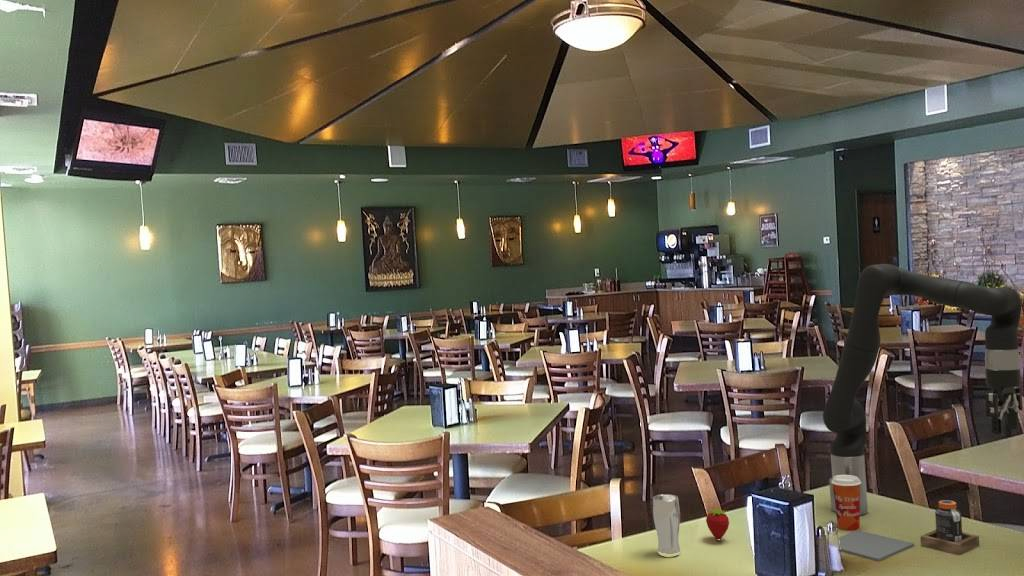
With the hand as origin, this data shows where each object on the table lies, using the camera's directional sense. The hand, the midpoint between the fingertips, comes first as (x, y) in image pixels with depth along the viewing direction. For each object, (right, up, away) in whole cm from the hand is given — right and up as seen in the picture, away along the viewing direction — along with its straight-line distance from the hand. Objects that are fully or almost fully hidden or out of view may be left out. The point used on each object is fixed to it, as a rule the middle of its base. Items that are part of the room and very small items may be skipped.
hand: (1005, 431), depth 204 cm
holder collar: (-12, -30, +4) cm, 32 cm away
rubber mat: (-31, -31, +8) cm, 45 cm away
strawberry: (-67, -34, +20) cm, 77 cm away
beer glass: (-82, -35, +12) cm, 90 cm away
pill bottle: (-12, -30, +4) cm, 33 cm away
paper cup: (-29, -31, +24) cm, 49 cm away
